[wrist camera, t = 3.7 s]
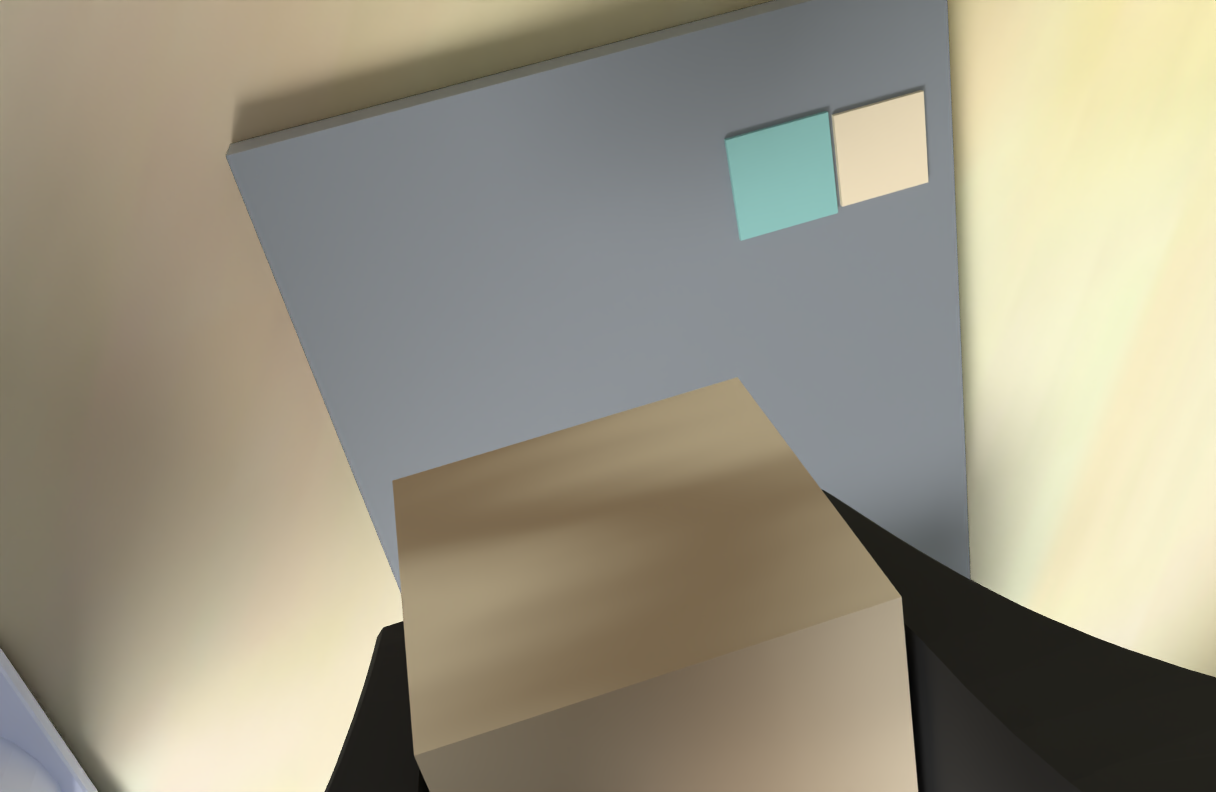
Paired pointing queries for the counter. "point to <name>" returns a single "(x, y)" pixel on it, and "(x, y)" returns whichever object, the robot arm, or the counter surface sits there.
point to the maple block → (648, 615)
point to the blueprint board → (645, 252)
